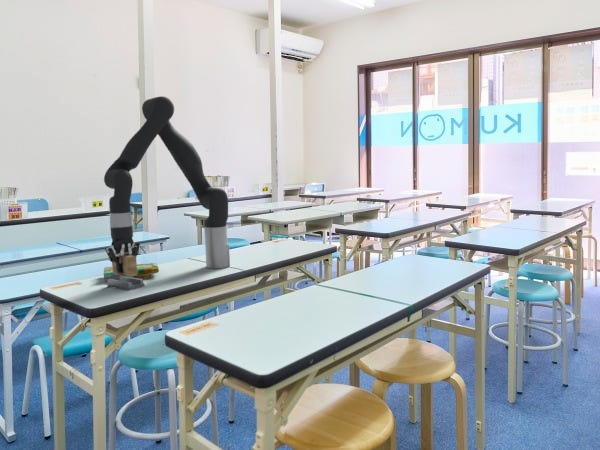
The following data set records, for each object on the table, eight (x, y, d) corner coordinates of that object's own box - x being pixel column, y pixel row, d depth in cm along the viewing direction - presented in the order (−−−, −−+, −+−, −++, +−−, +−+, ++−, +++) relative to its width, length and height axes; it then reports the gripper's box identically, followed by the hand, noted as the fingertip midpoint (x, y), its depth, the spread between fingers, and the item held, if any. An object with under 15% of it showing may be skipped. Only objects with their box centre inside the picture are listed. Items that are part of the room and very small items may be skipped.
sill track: (107, 286, 186) (106, 279, 186) (123, 282, 192) (122, 275, 192) (128, 290, 180) (127, 283, 179) (144, 286, 186) (143, 279, 185)
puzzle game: (104, 265, 202) (156, 261, 209) (104, 277, 203) (156, 272, 210) (103, 271, 191) (158, 266, 198) (104, 283, 192) (159, 278, 199)
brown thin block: (112, 273, 187) (111, 255, 186) (119, 272, 189) (118, 253, 189) (130, 276, 181) (129, 257, 180) (137, 275, 184) (136, 256, 183)
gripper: (130, 222, 191) (134, 267, 193) (97, 227, 179) (101, 275, 182) (144, 223, 187) (147, 269, 189) (111, 228, 175) (114, 277, 177)
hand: (124, 271), depth 185 cm, fingers closed on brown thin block, 3 cm apart
